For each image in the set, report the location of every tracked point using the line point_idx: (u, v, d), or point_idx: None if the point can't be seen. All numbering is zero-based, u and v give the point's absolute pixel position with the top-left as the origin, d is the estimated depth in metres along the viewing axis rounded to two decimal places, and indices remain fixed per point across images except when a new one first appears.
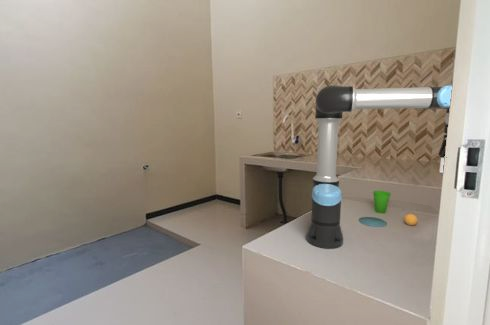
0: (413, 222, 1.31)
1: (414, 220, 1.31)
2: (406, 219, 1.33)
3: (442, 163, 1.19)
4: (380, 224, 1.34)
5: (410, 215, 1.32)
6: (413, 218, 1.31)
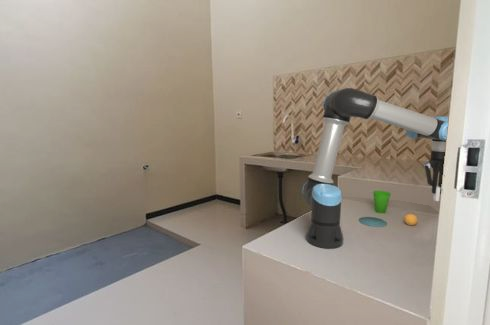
0: (413, 222, 1.31)
1: (414, 220, 1.31)
2: (406, 219, 1.33)
3: None
4: (380, 224, 1.34)
5: (410, 215, 1.32)
6: (413, 218, 1.31)
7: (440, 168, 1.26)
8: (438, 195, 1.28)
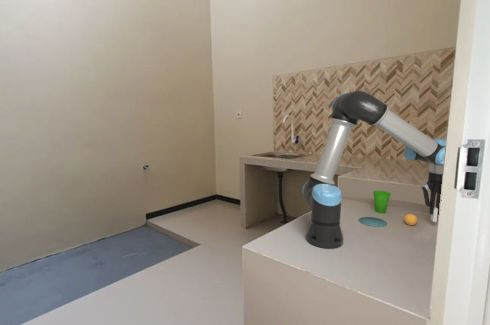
0: (413, 222, 1.31)
1: (414, 220, 1.31)
2: (406, 219, 1.33)
3: None
4: (380, 224, 1.34)
5: (410, 215, 1.32)
6: (413, 218, 1.31)
7: (437, 190, 1.27)
8: (436, 216, 1.29)
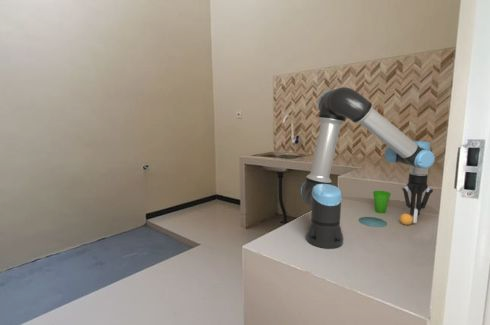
0: (409, 221, 1.31)
1: (409, 219, 1.31)
2: (401, 220, 1.33)
3: None
4: (380, 224, 1.34)
5: (403, 215, 1.33)
6: (408, 218, 1.31)
7: (417, 191, 1.30)
8: (416, 217, 1.31)
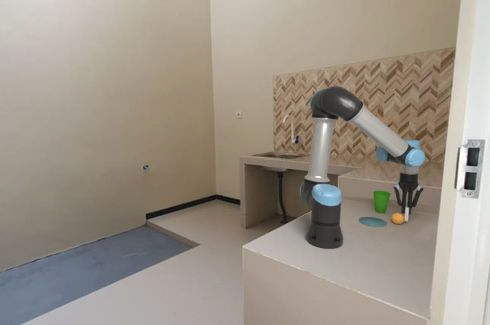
0: (400, 220, 1.32)
1: (399, 218, 1.32)
2: (394, 221, 1.34)
3: None
4: (380, 224, 1.34)
5: (393, 216, 1.34)
6: (398, 217, 1.33)
7: (408, 190, 1.31)
8: (407, 215, 1.32)
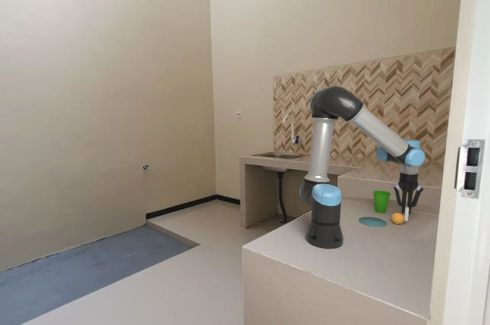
0: (400, 220, 1.32)
1: (399, 218, 1.32)
2: (394, 221, 1.34)
3: None
4: (380, 224, 1.34)
5: (393, 216, 1.34)
6: (398, 217, 1.33)
7: (408, 190, 1.31)
8: (407, 215, 1.32)
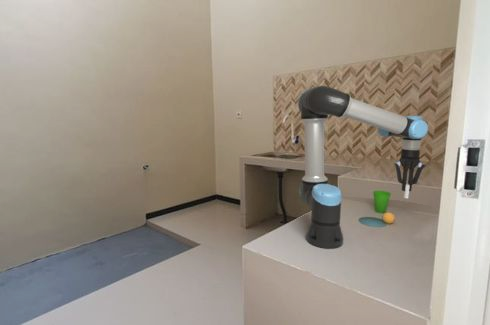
0: (390, 219, 1.33)
1: (388, 220, 1.33)
2: None
3: None
4: (380, 224, 1.34)
5: (385, 222, 1.35)
6: (387, 221, 1.34)
7: (409, 166, 1.29)
8: (407, 193, 1.31)
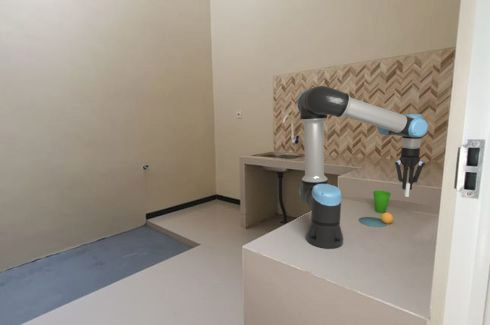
0: (389, 219, 1.33)
1: (386, 220, 1.33)
2: (391, 222, 1.35)
3: None
4: (380, 224, 1.34)
5: None
6: (386, 221, 1.34)
7: (410, 165, 1.29)
8: (408, 191, 1.31)
